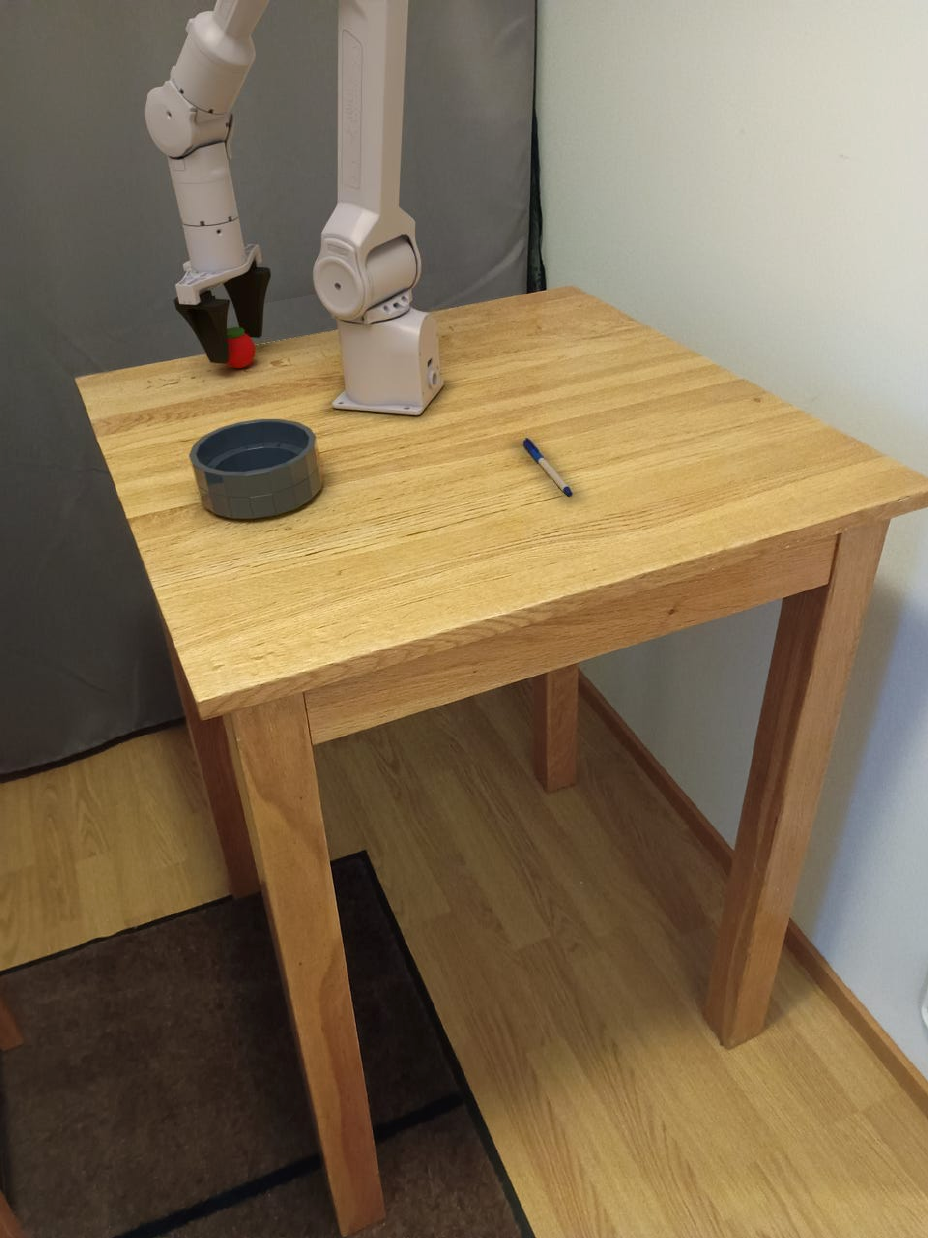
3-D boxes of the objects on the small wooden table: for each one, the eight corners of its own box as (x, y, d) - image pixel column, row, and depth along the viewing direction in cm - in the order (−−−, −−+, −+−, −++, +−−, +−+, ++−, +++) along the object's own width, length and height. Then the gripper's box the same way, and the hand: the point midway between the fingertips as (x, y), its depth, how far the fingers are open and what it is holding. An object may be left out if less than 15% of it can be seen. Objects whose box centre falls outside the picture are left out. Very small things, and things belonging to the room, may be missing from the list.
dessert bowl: (342, 469, 82) (335, 423, 80) (291, 530, 75) (281, 481, 72) (238, 459, 85) (228, 414, 83) (178, 517, 77) (165, 468, 75)
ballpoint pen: (519, 446, 85) (519, 436, 84) (528, 444, 85) (528, 434, 84) (567, 498, 77) (567, 488, 76) (576, 496, 77) (577, 486, 76)
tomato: (264, 361, 105) (257, 325, 102) (248, 374, 102) (240, 338, 99) (233, 358, 106) (225, 323, 103) (215, 372, 103) (207, 336, 100)
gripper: (210, 200, 101) (235, 324, 109) (136, 237, 90) (170, 371, 98) (269, 202, 99) (289, 327, 107) (200, 239, 88) (229, 375, 96)
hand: (236, 348), depth 103 cm, fingers open, 7 cm apart
